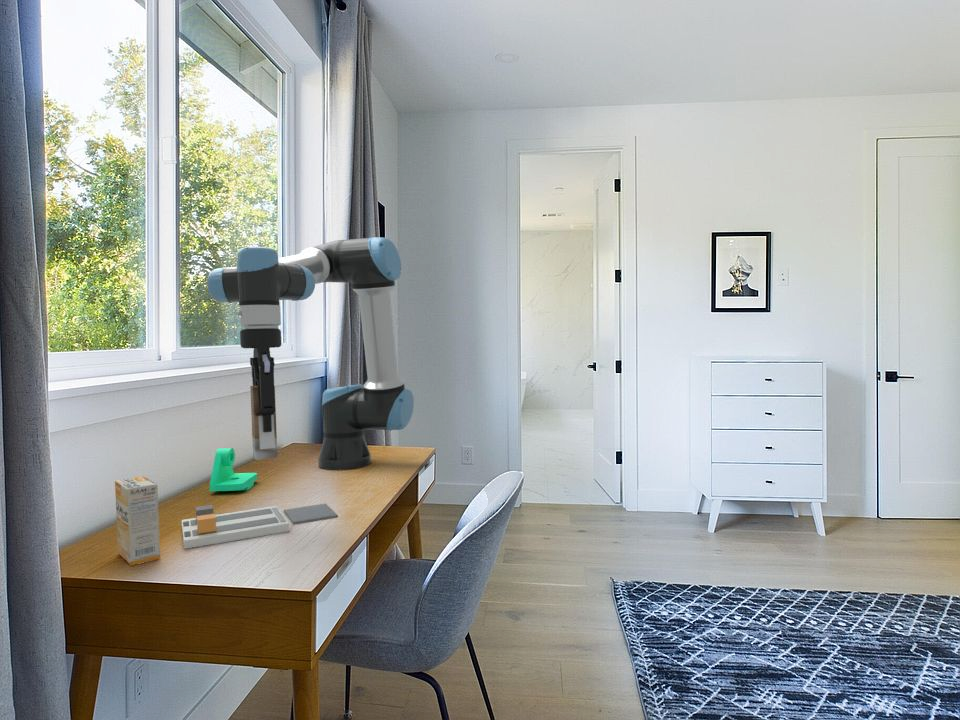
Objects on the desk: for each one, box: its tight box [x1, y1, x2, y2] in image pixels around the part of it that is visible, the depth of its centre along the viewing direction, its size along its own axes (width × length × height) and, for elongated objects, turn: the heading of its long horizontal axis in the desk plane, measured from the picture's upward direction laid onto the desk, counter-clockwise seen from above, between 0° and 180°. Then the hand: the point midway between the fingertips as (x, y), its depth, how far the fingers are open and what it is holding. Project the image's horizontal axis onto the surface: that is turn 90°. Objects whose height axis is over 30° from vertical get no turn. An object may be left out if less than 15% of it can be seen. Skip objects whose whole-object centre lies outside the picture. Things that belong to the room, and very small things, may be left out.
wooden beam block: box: [249, 385, 278, 461], centre depth 115 cm, size 4×4×14 cm
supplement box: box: [114, 475, 161, 567], centre depth 100 cm, size 8×5×13 cm, turn 45°
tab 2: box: [197, 513, 216, 534], centre depth 109 cm, size 3×3×2 cm
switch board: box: [181, 505, 290, 550], centre depth 114 cm, size 18×14×2 cm
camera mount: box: [209, 447, 258, 492], centre depth 147 cm, size 12×8×10 cm, turn 3°
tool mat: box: [283, 503, 339, 525], centre depth 123 cm, size 9×10×1 cm
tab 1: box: [195, 504, 215, 522], centre depth 115 cm, size 3×3×2 cm
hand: (265, 446), depth 115 cm, fingers closed on wooden beam block, 4 cm apart
